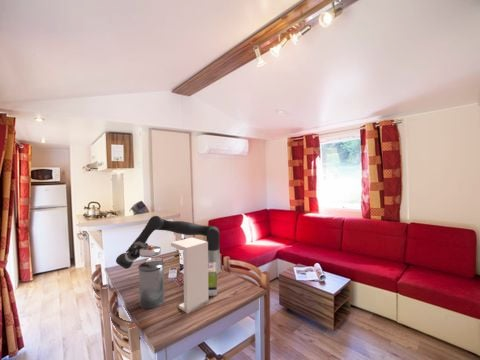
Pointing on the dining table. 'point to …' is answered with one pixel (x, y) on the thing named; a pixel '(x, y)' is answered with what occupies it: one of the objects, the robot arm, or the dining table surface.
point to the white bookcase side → (194, 272)
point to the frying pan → (159, 258)
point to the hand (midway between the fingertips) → (143, 245)
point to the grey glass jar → (151, 284)
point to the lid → (148, 250)
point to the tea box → (212, 279)
